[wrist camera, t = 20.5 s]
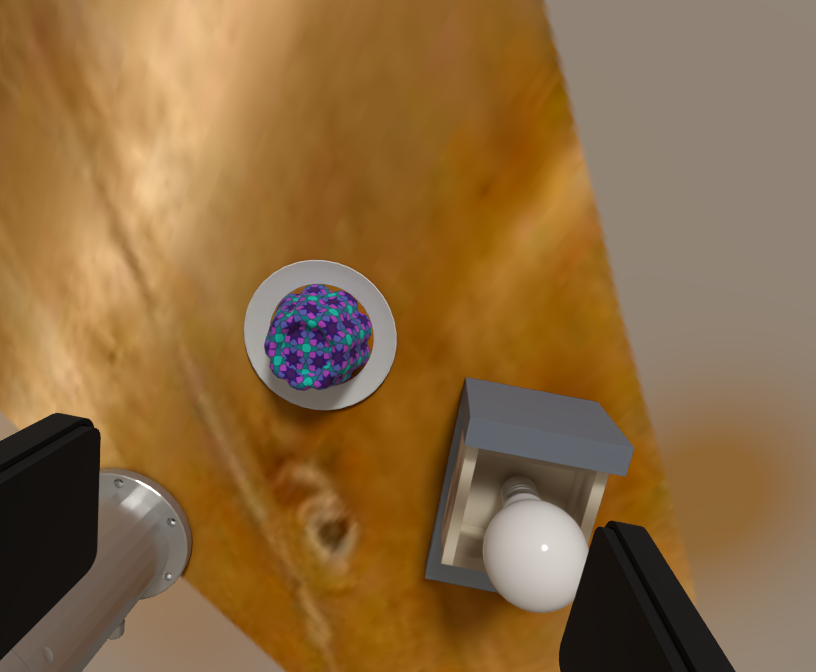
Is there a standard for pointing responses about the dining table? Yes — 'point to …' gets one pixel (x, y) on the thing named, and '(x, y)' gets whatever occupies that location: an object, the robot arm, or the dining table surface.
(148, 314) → the dining table surface
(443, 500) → the base
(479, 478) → the box
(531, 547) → the lightbulb
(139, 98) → the dining table surface
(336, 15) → the dining table surface
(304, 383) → the pudding
